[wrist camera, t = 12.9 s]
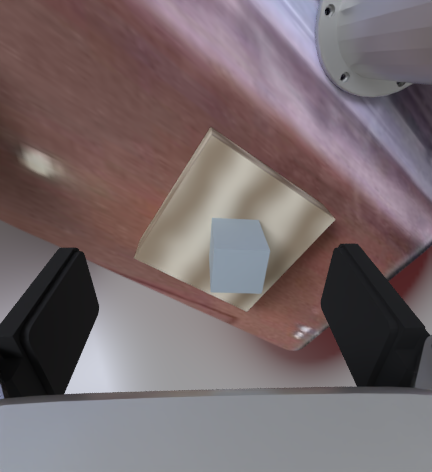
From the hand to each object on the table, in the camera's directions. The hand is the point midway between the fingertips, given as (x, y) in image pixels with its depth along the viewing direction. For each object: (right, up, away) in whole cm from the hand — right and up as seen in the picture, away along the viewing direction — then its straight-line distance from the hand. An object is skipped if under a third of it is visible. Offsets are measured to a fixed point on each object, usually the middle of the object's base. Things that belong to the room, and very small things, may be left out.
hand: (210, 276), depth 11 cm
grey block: (+2, +1, +21) cm, 21 cm away
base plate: (+2, +3, +25) cm, 25 cm away
